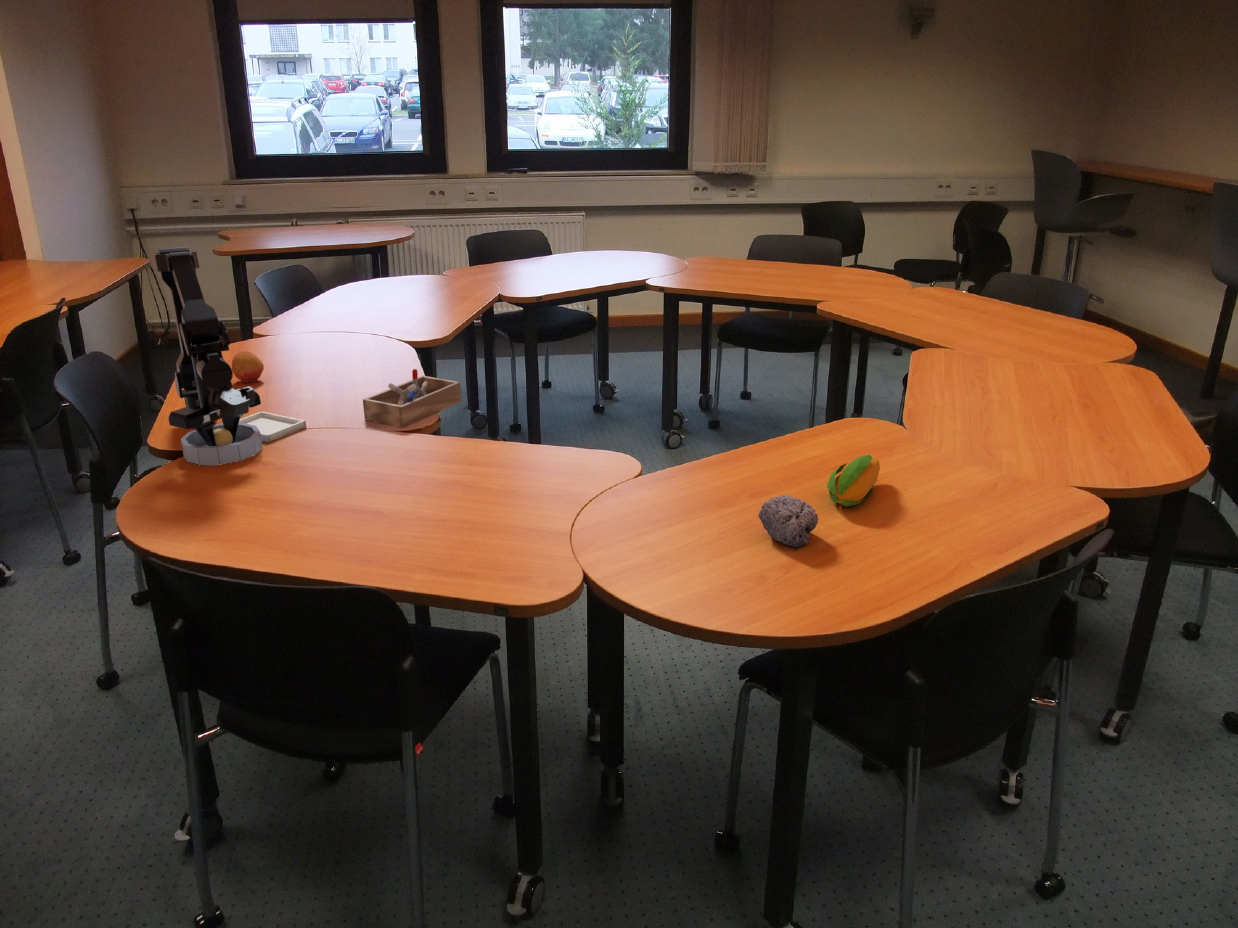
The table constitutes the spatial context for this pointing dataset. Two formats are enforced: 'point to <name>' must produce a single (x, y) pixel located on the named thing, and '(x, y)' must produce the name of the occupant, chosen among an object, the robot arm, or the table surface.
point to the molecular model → (410, 389)
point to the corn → (854, 481)
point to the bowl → (222, 446)
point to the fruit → (247, 367)
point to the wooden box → (412, 402)
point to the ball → (222, 437)
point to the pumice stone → (788, 520)
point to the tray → (273, 425)
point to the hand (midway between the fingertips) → (222, 446)
